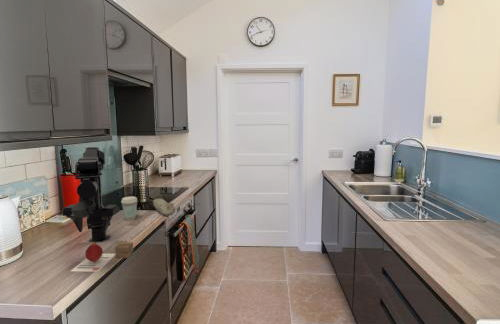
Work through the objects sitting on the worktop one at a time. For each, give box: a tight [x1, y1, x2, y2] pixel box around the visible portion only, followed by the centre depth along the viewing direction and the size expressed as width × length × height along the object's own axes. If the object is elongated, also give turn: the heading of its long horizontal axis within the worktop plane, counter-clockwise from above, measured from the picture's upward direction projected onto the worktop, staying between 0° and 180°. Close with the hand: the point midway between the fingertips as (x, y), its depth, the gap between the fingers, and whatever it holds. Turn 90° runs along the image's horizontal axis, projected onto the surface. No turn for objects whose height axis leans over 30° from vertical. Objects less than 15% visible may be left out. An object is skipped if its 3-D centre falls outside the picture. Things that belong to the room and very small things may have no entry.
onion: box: [84, 242, 104, 262], centre depth 107 cm, size 6×6×8 cm
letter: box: [70, 253, 116, 273], centre depth 107 cm, size 14×10×1 cm
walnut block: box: [114, 241, 134, 259], centre depth 113 cm, size 5×5×5 cm
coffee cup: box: [120, 195, 138, 221], centre depth 157 cm, size 8×8×12 cm
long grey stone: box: [152, 197, 176, 217], centre depth 177 cm, size 35×5×10 cm
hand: (92, 232), depth 106 cm, fingers open, 9 cm apart
